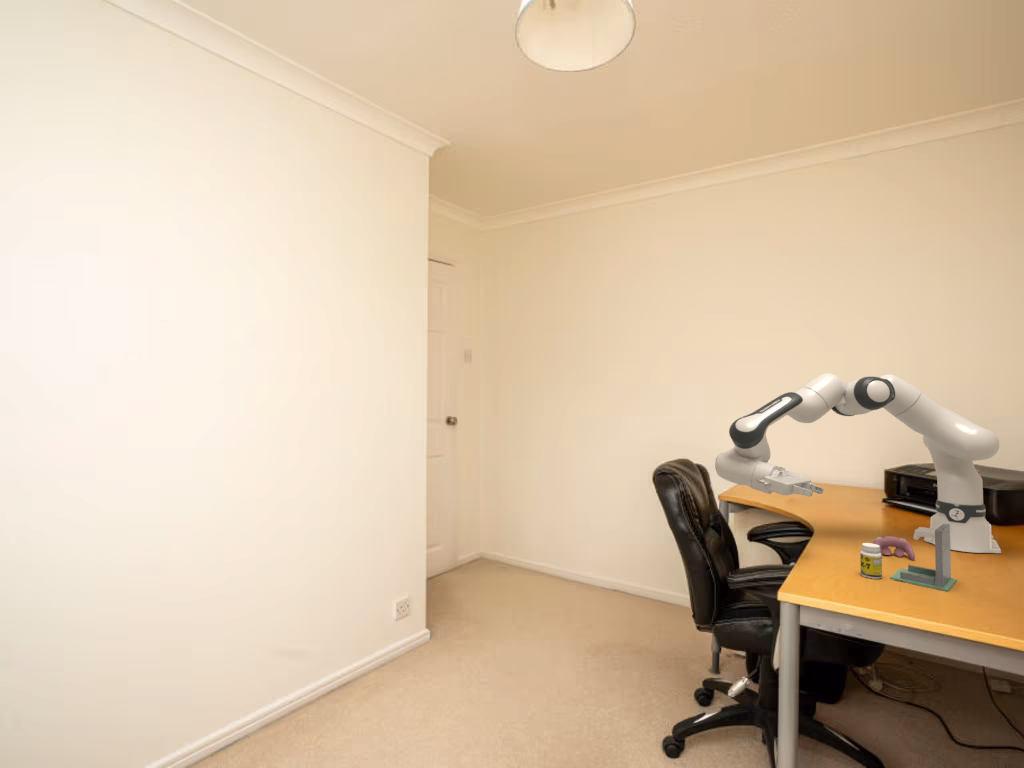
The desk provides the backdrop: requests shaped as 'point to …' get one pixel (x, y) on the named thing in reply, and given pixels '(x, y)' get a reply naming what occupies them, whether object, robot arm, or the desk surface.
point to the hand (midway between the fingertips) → (817, 492)
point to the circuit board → (945, 588)
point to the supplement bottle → (871, 561)
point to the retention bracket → (941, 558)
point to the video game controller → (894, 542)
